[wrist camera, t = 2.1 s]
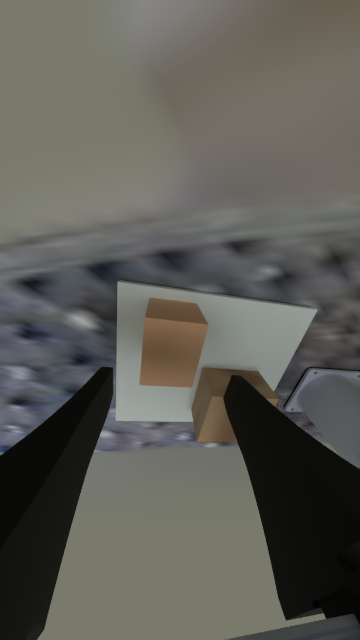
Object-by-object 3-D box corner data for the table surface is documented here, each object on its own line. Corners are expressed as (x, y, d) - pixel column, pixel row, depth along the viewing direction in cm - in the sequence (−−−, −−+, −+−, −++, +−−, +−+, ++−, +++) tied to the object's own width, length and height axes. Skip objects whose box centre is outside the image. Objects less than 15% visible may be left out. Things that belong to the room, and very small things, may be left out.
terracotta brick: (196, 303, 16) (208, 324, 12) (185, 355, 18) (192, 387, 14) (149, 297, 15) (145, 317, 11) (144, 351, 18) (139, 385, 13)
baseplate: (311, 306, 18) (317, 309, 17) (254, 417, 25) (257, 422, 25) (119, 279, 15) (117, 281, 14) (117, 414, 22) (115, 420, 21)
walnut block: (258, 371, 20) (279, 399, 17) (240, 410, 23) (254, 441, 19) (202, 367, 19) (212, 396, 16) (191, 409, 22) (196, 442, 18)
